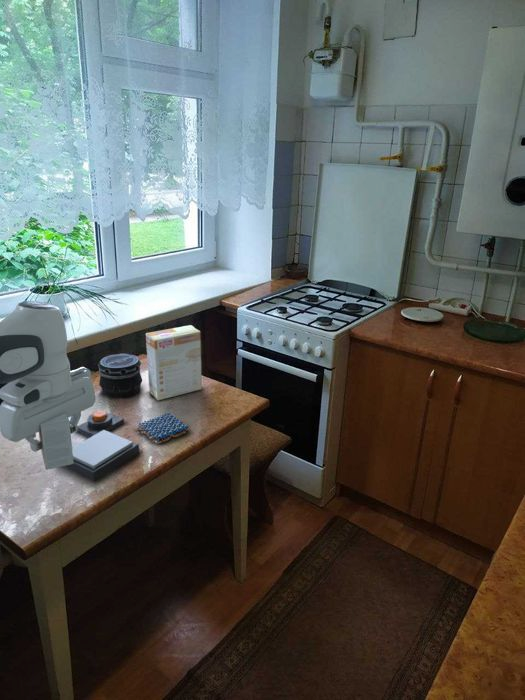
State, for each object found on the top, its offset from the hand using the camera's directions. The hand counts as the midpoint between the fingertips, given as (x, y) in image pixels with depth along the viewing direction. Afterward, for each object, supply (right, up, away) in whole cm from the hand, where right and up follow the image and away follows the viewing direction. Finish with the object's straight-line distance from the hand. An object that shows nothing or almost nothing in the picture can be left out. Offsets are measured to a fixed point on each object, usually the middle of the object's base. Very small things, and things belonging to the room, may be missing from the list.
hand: (55, 440), depth 104 cm
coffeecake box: (+17, +6, +50) cm, 53 cm away
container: (0, +6, +49) cm, 50 cm away
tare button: (0, +1, +28) cm, 28 cm away
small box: (0, -4, +1) cm, 4 cm away
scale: (+4, -7, +15) cm, 18 cm away
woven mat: (+17, -3, +28) cm, 33 cm away
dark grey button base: (0, -2, +29) cm, 29 cm away
